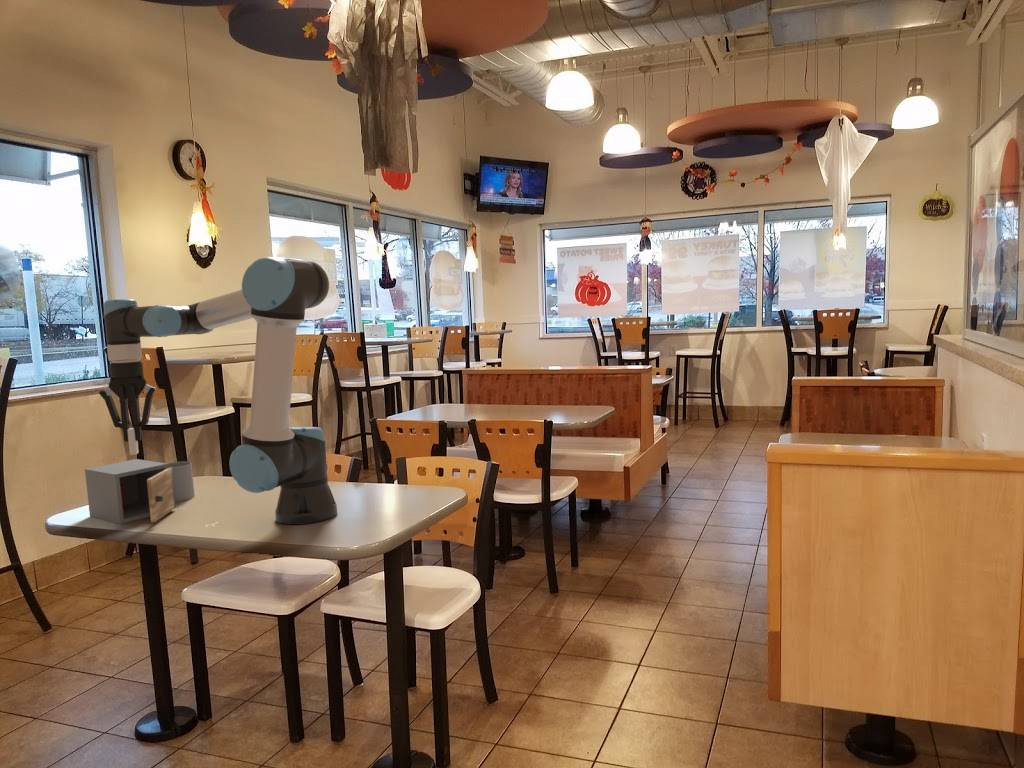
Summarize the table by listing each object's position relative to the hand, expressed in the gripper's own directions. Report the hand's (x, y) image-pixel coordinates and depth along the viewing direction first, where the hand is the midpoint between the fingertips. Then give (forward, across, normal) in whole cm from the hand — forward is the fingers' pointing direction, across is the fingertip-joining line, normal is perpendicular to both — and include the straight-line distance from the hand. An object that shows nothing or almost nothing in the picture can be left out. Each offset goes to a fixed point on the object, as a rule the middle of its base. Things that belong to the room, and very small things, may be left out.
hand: (134, 453), depth 186 cm
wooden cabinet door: (+17, -6, -3) cm, 18 cm away
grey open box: (+18, +5, -12) cm, 22 cm away
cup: (+18, -5, -25) cm, 31 cm away
